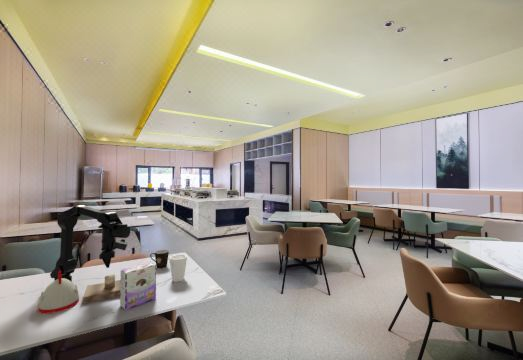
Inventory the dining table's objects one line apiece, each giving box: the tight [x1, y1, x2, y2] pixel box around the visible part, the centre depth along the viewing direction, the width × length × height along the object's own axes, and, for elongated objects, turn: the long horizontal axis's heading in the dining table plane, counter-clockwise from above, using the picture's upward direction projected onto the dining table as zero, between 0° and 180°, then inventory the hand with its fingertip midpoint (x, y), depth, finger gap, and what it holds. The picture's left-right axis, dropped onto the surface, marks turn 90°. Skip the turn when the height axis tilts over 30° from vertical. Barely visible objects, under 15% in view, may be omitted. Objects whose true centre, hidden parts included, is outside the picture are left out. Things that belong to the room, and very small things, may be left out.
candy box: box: [119, 262, 157, 311], centre depth 110 cm, size 14×6×16 cm, turn 141°
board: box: [82, 279, 121, 304], centre depth 119 cm, size 16×14×3 cm
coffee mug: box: [149, 249, 170, 270], centre depth 157 cm, size 12×9×10 cm
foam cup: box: [168, 254, 188, 283], centre depth 136 cm, size 10×9×13 cm
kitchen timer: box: [37, 271, 80, 315], centre depth 107 cm, size 14×14×15 cm
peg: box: [104, 274, 116, 289], centre depth 120 cm, size 4×4×8 cm
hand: (107, 267), depth 121 cm, fingers closed
